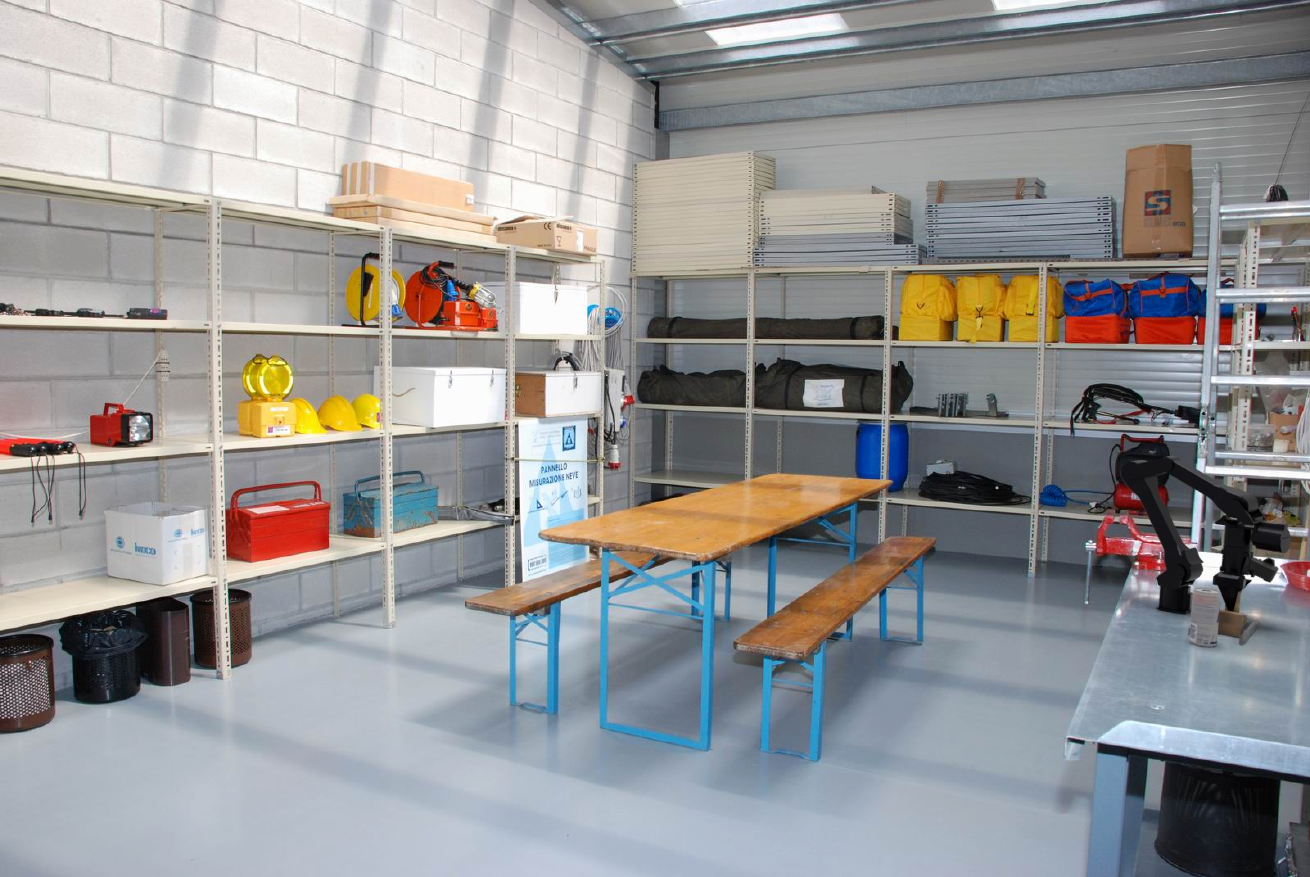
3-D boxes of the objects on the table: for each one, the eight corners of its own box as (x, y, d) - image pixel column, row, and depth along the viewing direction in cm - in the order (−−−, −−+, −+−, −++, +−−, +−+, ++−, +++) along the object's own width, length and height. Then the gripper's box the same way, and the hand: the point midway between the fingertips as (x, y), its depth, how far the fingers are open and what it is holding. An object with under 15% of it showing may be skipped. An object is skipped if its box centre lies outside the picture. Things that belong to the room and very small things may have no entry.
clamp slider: (1200, 629, 225) (1203, 596, 224) (1213, 617, 236) (1215, 585, 236) (1240, 637, 220) (1243, 603, 219) (1251, 623, 231) (1254, 591, 230)
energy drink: (1215, 642, 217) (1219, 589, 215) (1218, 648, 212) (1222, 594, 211) (1188, 638, 219) (1192, 586, 218) (1190, 645, 214) (1194, 591, 213)
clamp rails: (1188, 635, 222) (1188, 628, 221) (1205, 618, 236) (1206, 612, 236) (1242, 645, 215) (1243, 638, 215) (1257, 627, 229) (1257, 620, 229)
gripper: (1271, 557, 219) (1265, 625, 220) (1282, 544, 233) (1277, 608, 234) (1214, 549, 226) (1209, 615, 227) (1229, 538, 240) (1224, 600, 241)
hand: (1232, 610), depth 232 cm, fingers closed on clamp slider, 3 cm apart
